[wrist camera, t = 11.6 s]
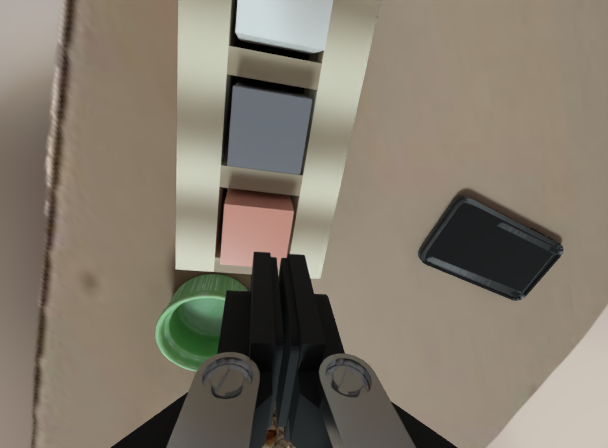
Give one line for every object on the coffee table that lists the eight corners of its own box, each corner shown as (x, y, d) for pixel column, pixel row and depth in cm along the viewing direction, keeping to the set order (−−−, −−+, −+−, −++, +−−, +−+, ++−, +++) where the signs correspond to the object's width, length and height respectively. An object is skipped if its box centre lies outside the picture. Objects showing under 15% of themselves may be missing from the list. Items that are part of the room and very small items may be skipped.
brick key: (230, 178, 26) (224, 203, 21) (287, 185, 27) (294, 211, 22) (226, 229, 28) (219, 264, 23) (279, 234, 29) (284, 269, 24)
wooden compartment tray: (199, -75, 21) (179, -125, 16) (362, -34, 23) (394, -66, 18) (190, 233, 30) (175, 269, 24) (309, 243, 32) (320, 278, 27)
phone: (519, 303, 38) (416, 260, 34) (512, 297, 39) (412, 255, 35) (568, 247, 35) (463, 193, 31) (559, 242, 36) (457, 189, 32)
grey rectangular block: (237, 82, 23) (232, 86, 18) (300, 93, 24) (312, 99, 19) (232, 146, 25) (227, 165, 20) (291, 154, 26) (300, 174, 21)
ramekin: (199, 251, 31) (191, 277, 27) (276, 296, 34) (278, 325, 30) (149, 314, 33) (135, 347, 29) (225, 351, 36) (221, 385, 32)
